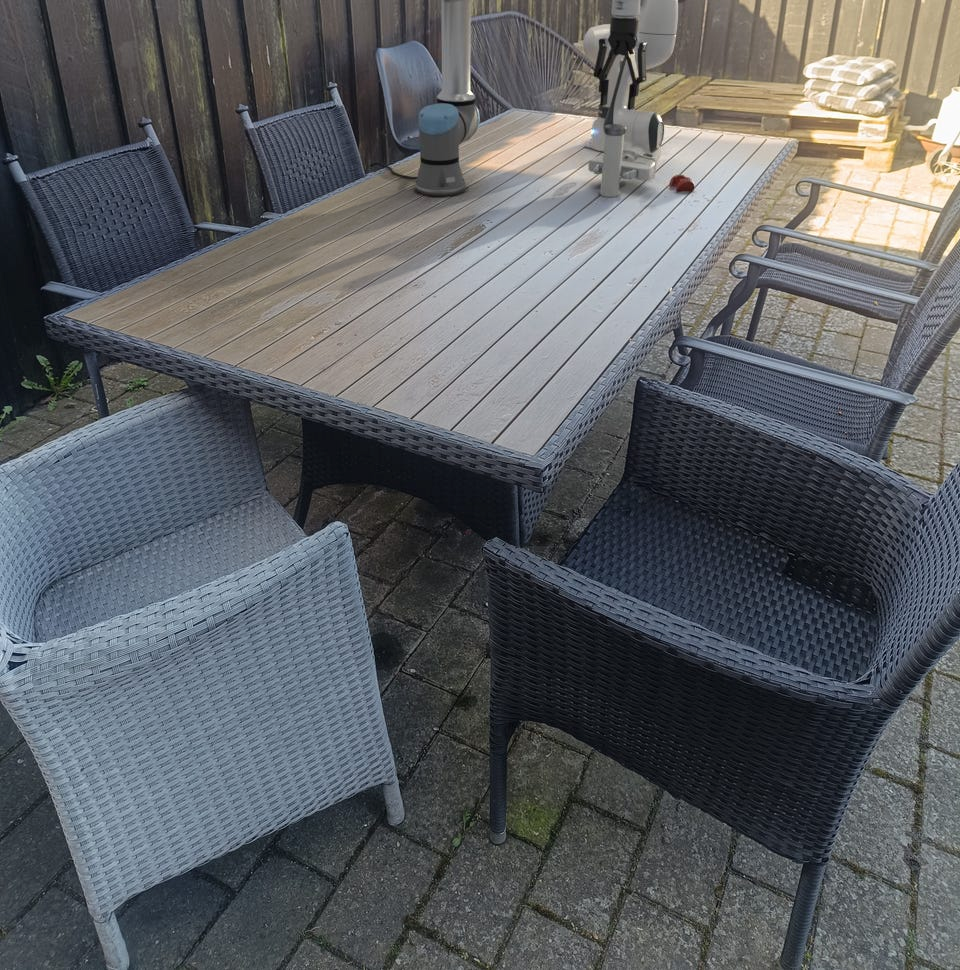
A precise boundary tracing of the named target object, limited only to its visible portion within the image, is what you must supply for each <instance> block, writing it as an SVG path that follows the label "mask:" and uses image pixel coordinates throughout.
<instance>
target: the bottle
mask: <svg viewBox="0 0 960 970" xmlns="http://www.w3.org/2000/svg"><path fill="white" fill-rule="evenodd" d="M623 141H624V134H623V135H608V134H605V142H604V152H603V167H602V173H601V180H600V193H599V195H600V196H602V197H607V198H614V197H615V198H616V197H618V196H619V195H620V194H619V193H620V185H621V177H620V173H621V163H622V152H623Z"/></svg>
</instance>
